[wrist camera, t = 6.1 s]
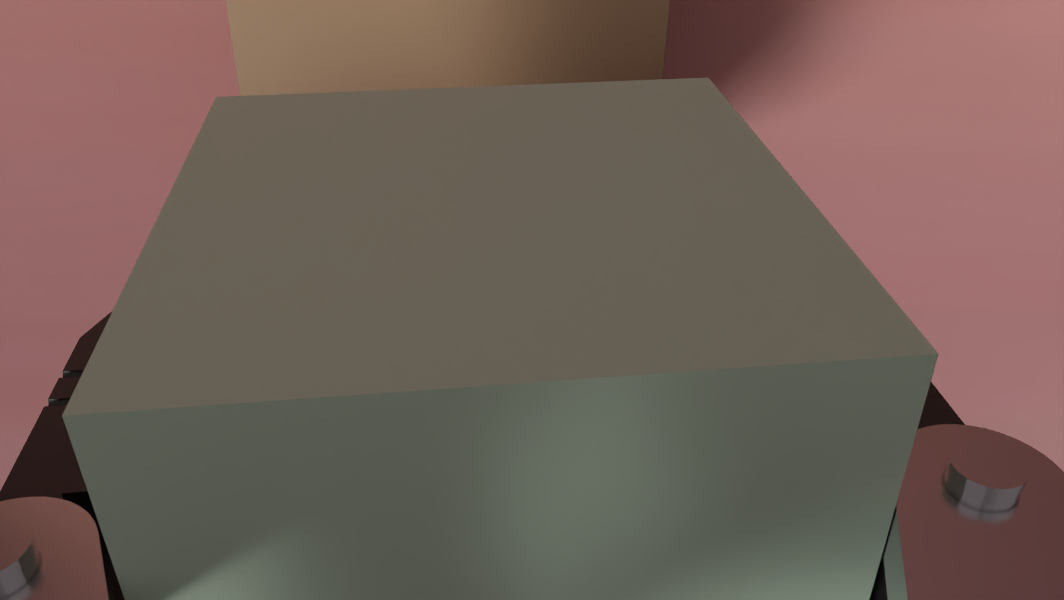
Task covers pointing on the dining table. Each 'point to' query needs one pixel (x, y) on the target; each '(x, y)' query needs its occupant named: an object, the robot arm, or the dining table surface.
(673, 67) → the dining table surface
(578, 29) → the walnut base
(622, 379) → the sage block
